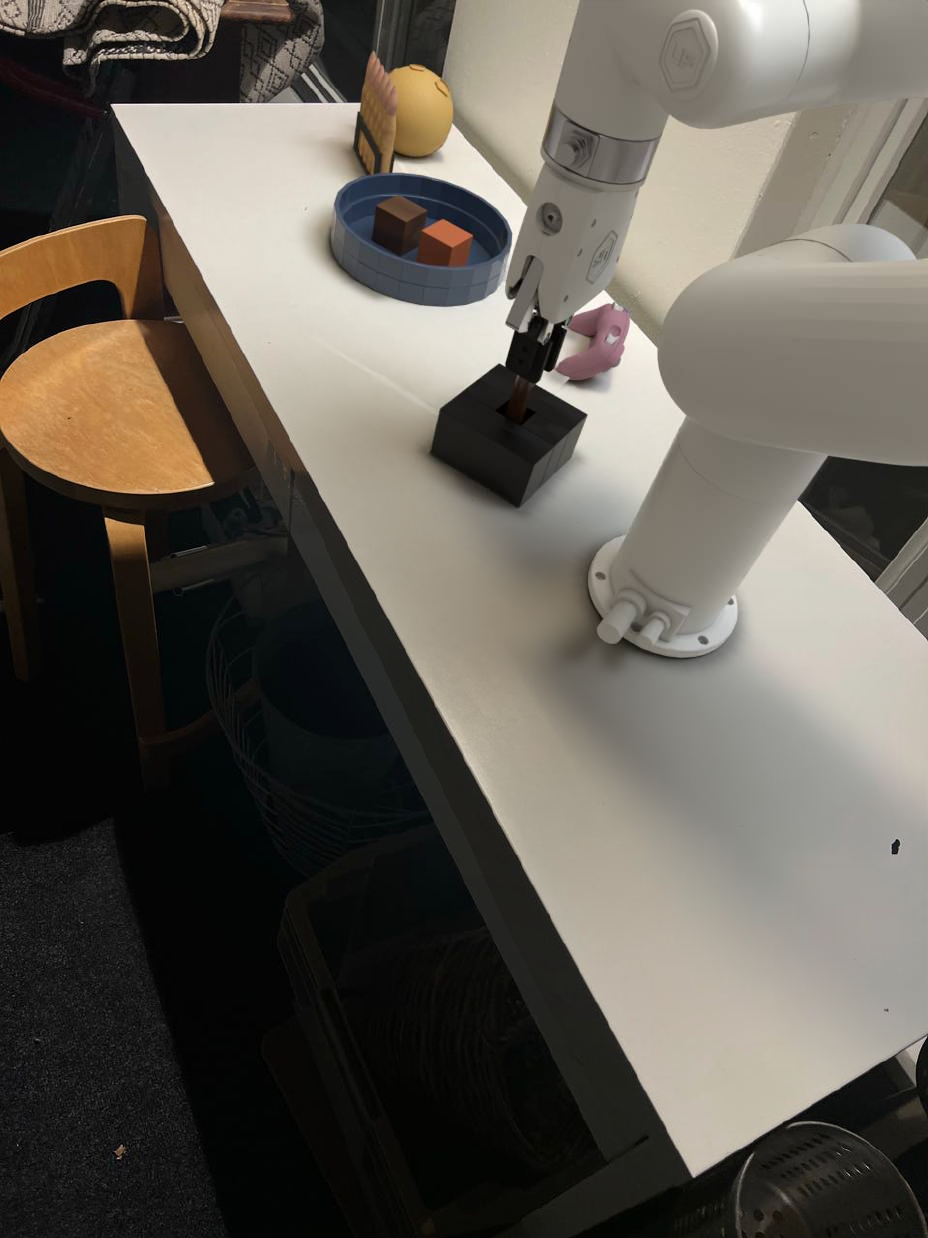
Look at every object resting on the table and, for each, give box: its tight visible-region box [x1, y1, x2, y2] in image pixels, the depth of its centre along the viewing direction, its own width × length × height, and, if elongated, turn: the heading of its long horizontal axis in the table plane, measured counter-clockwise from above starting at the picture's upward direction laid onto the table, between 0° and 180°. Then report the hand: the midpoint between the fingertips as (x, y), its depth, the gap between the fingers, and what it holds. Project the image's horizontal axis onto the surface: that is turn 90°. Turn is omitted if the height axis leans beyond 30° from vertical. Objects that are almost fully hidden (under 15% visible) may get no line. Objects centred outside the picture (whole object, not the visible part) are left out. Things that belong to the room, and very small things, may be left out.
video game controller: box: [556, 301, 631, 381], centre depth 92 cm, size 10×5×7 cm, turn 168°
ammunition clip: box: [352, 50, 397, 176], centre depth 105 cm, size 11×2×12 cm, turn 19°
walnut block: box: [372, 195, 427, 256], centre depth 98 cm, size 4×4×4 cm
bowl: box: [330, 172, 513, 307], centre depth 97 cm, size 19×19×5 cm
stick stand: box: [429, 362, 589, 509], centre depth 80 cm, size 10×10×5 cm
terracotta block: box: [416, 219, 473, 267], centre depth 96 cm, size 4×4×4 cm
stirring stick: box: [505, 310, 544, 426], centre depth 76 cm, size 2×2×15 cm
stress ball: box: [387, 63, 454, 158], centre depth 111 cm, size 10×10×10 cm
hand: (529, 367), depth 75 cm, fingers closed on stirring stick, 1 cm apart
